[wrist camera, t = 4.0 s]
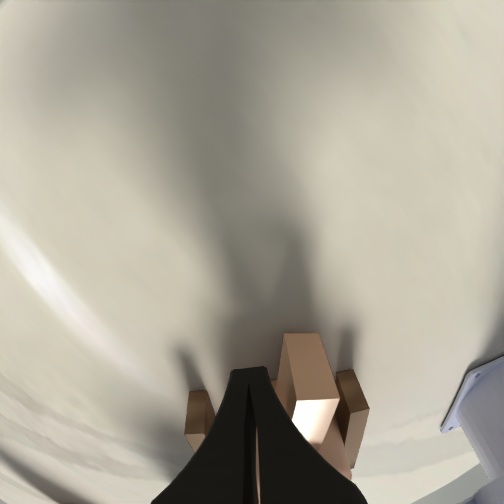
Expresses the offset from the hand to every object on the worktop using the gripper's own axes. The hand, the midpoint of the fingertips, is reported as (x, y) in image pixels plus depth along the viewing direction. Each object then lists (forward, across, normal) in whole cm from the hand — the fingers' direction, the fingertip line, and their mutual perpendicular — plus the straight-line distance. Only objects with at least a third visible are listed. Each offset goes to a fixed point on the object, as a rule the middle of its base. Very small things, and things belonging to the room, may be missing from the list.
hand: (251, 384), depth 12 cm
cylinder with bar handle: (+3, -1, +5) cm, 6 cm away
